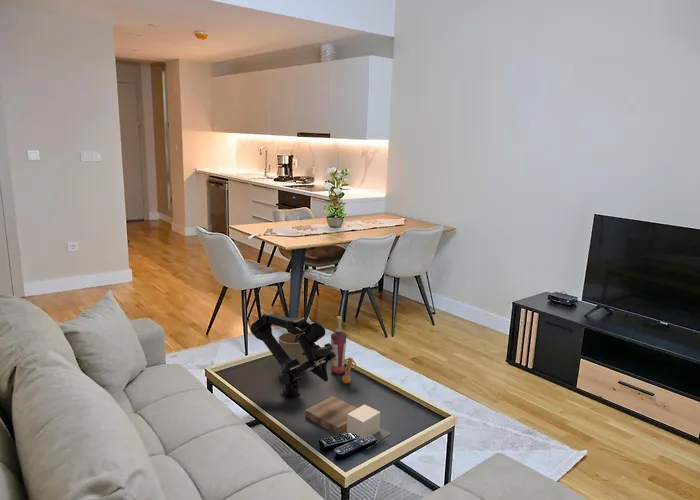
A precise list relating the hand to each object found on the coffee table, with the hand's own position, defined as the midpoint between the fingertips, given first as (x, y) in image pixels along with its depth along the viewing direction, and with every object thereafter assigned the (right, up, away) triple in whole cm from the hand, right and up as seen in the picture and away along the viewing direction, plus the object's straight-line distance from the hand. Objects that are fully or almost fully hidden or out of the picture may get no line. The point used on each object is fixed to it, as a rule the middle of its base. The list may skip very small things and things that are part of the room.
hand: (326, 381), depth 207 cm
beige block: (+12, -12, -10) cm, 19 cm away
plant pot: (-18, -4, +41) cm, 45 cm away
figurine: (+8, -8, +28) cm, 31 cm away
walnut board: (+3, -14, -2) cm, 15 cm away
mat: (+15, -17, -12) cm, 26 cm away
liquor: (+4, -6, +38) cm, 38 cm away
